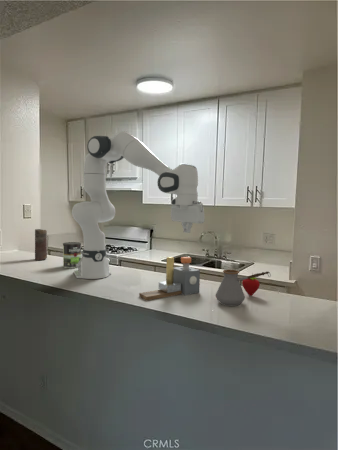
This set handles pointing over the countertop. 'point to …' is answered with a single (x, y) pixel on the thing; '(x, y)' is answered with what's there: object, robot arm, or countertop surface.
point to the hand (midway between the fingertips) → (186, 232)
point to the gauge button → (185, 262)
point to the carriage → (170, 278)
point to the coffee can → (71, 254)
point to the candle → (40, 244)
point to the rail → (157, 294)
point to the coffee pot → (232, 288)
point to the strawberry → (251, 285)
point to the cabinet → (187, 279)
